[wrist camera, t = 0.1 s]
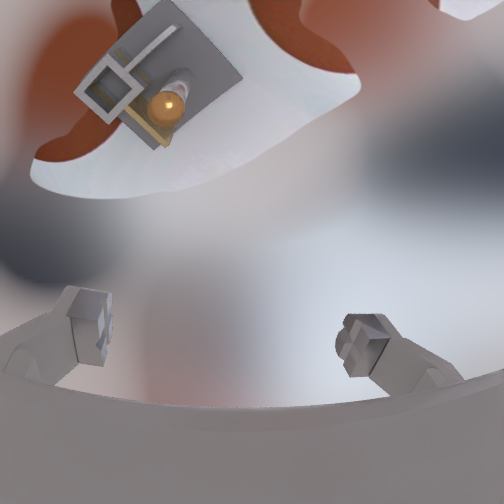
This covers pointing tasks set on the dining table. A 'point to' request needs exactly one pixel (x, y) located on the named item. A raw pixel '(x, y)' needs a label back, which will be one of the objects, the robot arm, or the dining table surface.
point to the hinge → (135, 77)
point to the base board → (172, 64)
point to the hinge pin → (171, 99)
